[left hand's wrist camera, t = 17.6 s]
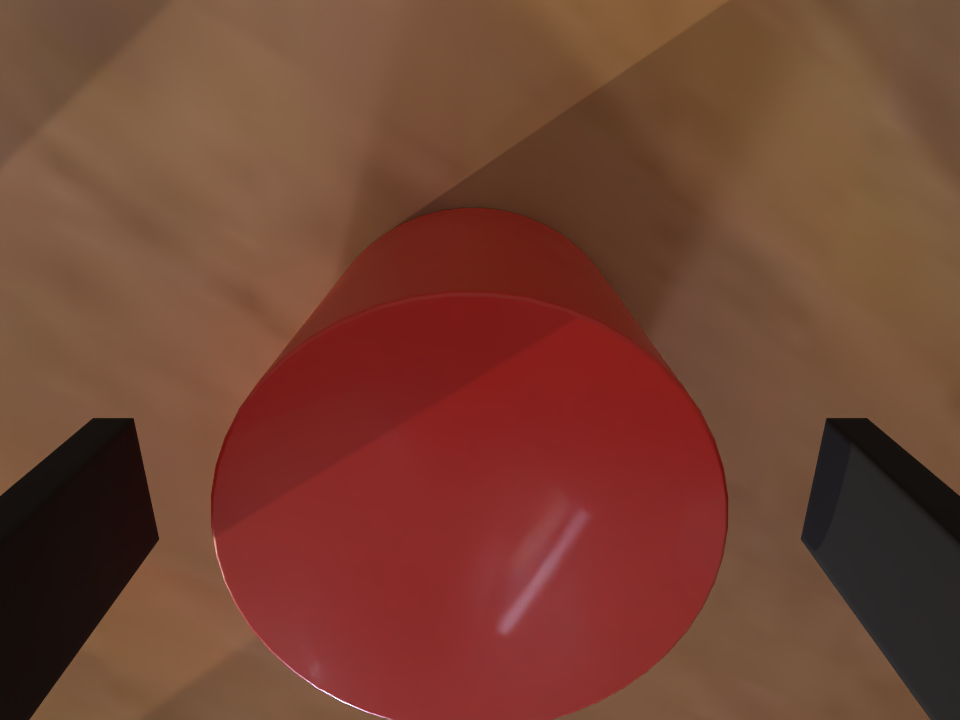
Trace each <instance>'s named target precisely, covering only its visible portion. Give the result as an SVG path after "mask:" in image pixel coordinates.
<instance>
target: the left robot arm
mask: <svg viewBox="0 0 960 720" xmlns="http://www.w3.org/2000/svg"><path fill="white" fill-rule="evenodd" d="M158 540H159V536H158V532H157V527H156V522H155V517H154V513H153V508H152V503H151V498H150V494H149V489H148V484H147V480H146V475H145V470H144V465H143V461H142V456H141V451H140V447H139V442H138V437H137V432H136V428H135V423H134V418H93V419H92V420H90V421H89V422H88V423H87V424H86V425H84V426H83V427H82V428H81V429H80V430H78V431H77V432H76V433H75V434H74V435H73V436H71V437H70V438H69V439H68V440H67V441H65V442H64V443H63V444H62V445H61V446H59V447H58V448H57V449H56V450H55V451H53V452H52V453H51V454H50V455H49V456H48V457H46V458H45V459H44V460H43V461H42V462H40V463H39V464H38V465H37V466H36V467H34V468H33V469H32V470H31V471H30V472H28V473H27V474H26V475H25V476H24V477H23V478H21V479H20V480H19V481H18V482H17V483H15V484H14V485H13V486H12V487H11V488H9V489H8V490H7V491H6V492H5V493H3V494H2V495H1V496H0V720H29V719H30V718H31V717H32V715H33V714H34V712H35V711H36V710H37V708H38V707H39V705H40V704H41V703H42V701H43V700H44V699H45V697H46V696H47V694H48V693H49V692H50V690H51V689H52V687H53V686H54V685H55V683H56V682H57V680H58V679H59V678H60V676H61V675H62V674H63V672H64V671H65V669H66V668H67V667H68V665H69V664H70V662H71V661H72V660H73V658H74V657H75V655H76V654H77V653H78V651H79V650H80V649H81V647H82V646H83V644H84V643H85V642H86V640H87V639H88V637H89V636H90V635H91V633H92V632H93V630H94V629H95V628H96V626H97V625H98V624H99V622H100V621H101V619H102V618H103V617H104V615H105V614H106V612H107V611H108V610H109V608H110V607H111V605H112V604H113V603H114V601H115V600H116V598H117V597H118V596H119V594H120V593H121V592H122V590H123V589H124V587H125V586H126V585H127V583H128V582H129V580H130V579H131V578H132V576H133V575H134V573H135V572H136V571H137V569H138V568H139V567H140V565H141V564H142V562H143V561H144V560H145V558H146V557H147V555H148V554H149V553H150V551H151V550H152V548H153V547H154V546H155V544H156V543H157V542H158ZM801 540H802V542H803V543H804V544H805V546H806V547H807V548H808V550H809V551H810V553H811V554H812V555H813V557H814V558H815V560H816V561H817V562H818V564H819V565H820V567H821V568H822V569H823V571H824V572H825V573H826V575H827V576H828V578H829V579H830V580H831V582H832V583H833V585H834V586H835V587H836V589H837V590H838V592H839V593H840V594H841V596H842V597H843V598H844V600H845V601H846V603H847V604H848V605H849V607H850V608H851V610H852V611H853V612H854V614H855V615H856V617H857V618H858V619H859V621H860V622H861V624H862V625H863V626H864V628H865V629H866V630H867V632H868V633H869V635H870V636H871V637H872V639H873V640H874V642H875V643H876V644H877V646H878V647H879V649H880V650H881V651H882V653H883V654H884V655H885V657H886V658H887V660H888V661H889V662H890V664H891V665H892V667H893V668H894V669H895V671H896V672H897V674H898V675H899V676H900V678H901V679H902V680H903V682H904V683H905V685H906V686H907V687H908V689H909V690H910V692H911V693H912V694H913V696H914V697H915V699H916V700H917V701H918V703H919V704H920V705H921V707H922V708H923V710H924V711H925V712H926V714H927V715H928V717H929V718H930V719H931V720H960V496H959V495H958V494H957V493H955V492H954V491H953V490H952V489H951V488H949V487H948V486H947V485H946V484H945V483H943V482H942V481H941V480H940V479H939V478H937V477H936V476H935V475H934V474H933V473H932V472H930V471H929V470H928V469H927V468H926V467H924V466H923V465H922V464H921V463H920V462H918V461H917V460H916V459H915V458H914V457H912V456H911V455H910V454H909V453H908V452H907V451H905V450H904V449H903V448H902V447H901V446H899V445H898V444H897V443H896V442H895V441H893V440H892V439H891V438H890V437H889V436H887V435H886V434H885V433H884V432H883V431H882V430H880V429H879V428H878V427H877V426H876V425H874V424H873V423H872V422H871V421H870V420H868V419H867V418H826V423H825V428H824V432H823V437H822V442H821V447H820V451H819V456H818V461H817V465H816V470H815V475H814V480H813V484H812V489H811V494H810V498H809V503H808V508H807V513H806V517H805V522H804V527H803V532H802V536H801Z"/></svg>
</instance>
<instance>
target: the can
mask: <svg viewBox="0 0 960 720" xmlns="http://www.w3.org/2000/svg"><path fill="white" fill-rule="evenodd" d="M211 527H212V533H213V539H214V546H215V552H216V556H217V559H218V563H219V566H220V569H221V572H222V575H223V578H224V581H225V583H226V586H227V588H228V590H229V592H230V594H231V596H232V598H233V600H234V602H235V604H236V606H237V608H238V609H239V611H240V612H241V614H242V615H243V617H244V618H245V620H246V621H247V623H248V624H249V626H250V627H251V629H252V630H253V632H254V633H255V634H256V635H257V636H258V637H259V638H260V640H261V641H262V642H263V643H264V644H265V645H266V646H267V648H268V649H269V650H270V651H271V652H272V653H273V654H274V655H275V656H276V657H277V658H279V659H280V660H281V661H282V662H283V663H284V664H285V665H286V666H288V667H289V668H290V669H291V670H292V671H293V672H295V673H296V674H297V675H299V676H300V677H302V678H303V679H305V680H306V681H307V682H309V683H310V684H312V685H313V686H314V687H316V688H318V689H319V690H321V691H323V692H325V693H327V694H328V695H330V696H332V697H334V698H336V699H338V700H339V701H341V702H343V703H346V704H348V705H351V706H353V707H355V708H358V709H360V710H362V711H365V712H367V713H370V714H373V715H376V716H380V717H383V718H386V719H390V720H551V719H554V718H558V717H561V716H564V715H568V714H571V713H573V712H576V711H578V710H581V709H583V708H585V707H588V706H590V705H593V704H595V703H597V702H599V701H601V700H603V699H605V698H607V697H608V696H610V695H612V694H614V693H616V692H618V691H619V690H621V689H623V688H624V687H626V686H627V685H629V684H630V683H632V682H633V681H634V680H636V679H637V678H639V677H640V676H642V675H643V674H644V673H646V672H647V671H648V670H649V669H650V668H652V667H653V666H654V665H655V664H656V663H657V662H658V661H659V660H661V659H662V658H663V657H664V656H665V655H666V654H667V653H668V652H669V651H670V650H671V649H672V648H673V647H674V645H675V644H676V643H677V642H678V641H679V640H680V639H681V637H682V636H683V635H684V634H685V633H686V632H687V630H688V629H689V627H690V626H691V624H692V623H693V621H694V620H695V618H696V617H697V615H698V614H699V612H700V611H701V609H702V608H703V606H704V604H705V601H706V599H707V597H708V595H709V593H710V591H711V589H712V587H713V585H714V583H715V580H716V577H717V574H718V571H719V567H720V564H721V561H722V558H723V554H724V548H725V542H726V535H727V529H728V493H727V486H726V480H725V473H724V467H723V464H722V461H721V458H720V455H719V451H718V448H717V445H716V442H715V439H714V437H713V435H712V433H711V431H710V429H709V427H708V425H707V423H706V421H705V419H704V417H703V415H702V413H701V411H700V409H699V408H698V407H697V405H696V404H695V402H694V401H693V400H692V398H691V397H690V395H689V394H688V392H687V391H686V390H685V388H684V387H683V385H682V384H681V383H680V381H679V380H678V378H677V377H676V376H675V374H674V373H673V372H672V370H671V369H670V367H669V366H668V365H667V363H666V362H665V361H664V359H663V358H662V356H661V355H660V354H659V352H658V351H657V350H656V348H655V347H654V346H653V344H652V343H651V341H650V340H649V339H648V337H647V336H646V335H645V333H644V332H643V330H642V329H641V328H640V326H639V325H638V324H637V322H636V321H635V319H634V318H633V317H632V315H631V314H630V313H629V311H628V310H627V308H626V307H625V306H624V304H623V303H622V302H621V300H620V299H619V298H618V296H617V295H616V293H615V292H614V291H613V289H612V288H611V287H610V285H609V284H608V282H607V281H606V280H605V278H604V277H603V276H602V274H601V273H600V271H599V270H598V269H597V267H596V266H595V265H594V263H593V262H592V261H591V260H590V259H589V258H588V257H587V256H586V255H585V254H584V253H583V252H582V251H581V249H579V248H578V247H577V246H576V245H574V244H573V243H572V242H571V241H570V240H568V239H567V238H566V237H565V236H563V235H561V234H560V233H558V232H556V231H555V230H553V229H551V228H550V227H548V226H547V225H544V224H542V223H540V222H537V221H535V220H533V219H531V218H528V217H525V216H522V215H518V214H515V213H511V212H508V211H502V210H495V209H488V208H458V209H450V210H442V211H438V212H434V213H431V214H427V215H423V216H420V217H417V218H415V219H413V220H410V221H408V222H405V223H403V224H401V225H399V226H397V227H396V228H394V229H392V230H391V231H389V232H387V233H385V234H384V235H382V236H381V237H380V238H379V239H377V240H376V241H375V242H373V243H372V244H371V245H370V246H368V247H367V248H366V249H365V250H364V251H363V252H362V253H361V254H360V255H359V256H358V258H357V259H356V260H355V261H354V262H353V263H352V264H351V265H350V267H349V268H348V269H347V270H346V272H345V273H344V274H343V276H342V277H341V278H340V279H339V281H338V282H337V283H336V284H335V286H334V287H333V288H332V289H331V291H330V292H329V293H328V295H327V296H326V297H325V298H324V300H323V301H322V302H321V303H320V305H319V306H318V307H317V308H316V310H315V311H314V312H313V313H312V315H311V316H310V317H309V319H308V320H307V321H306V322H305V324H304V325H303V326H302V327H301V329H300V330H299V331H298V332H297V334H296V335H295V336H294V338H293V339H292V340H291V341H290V343H289V344H288V345H287V346H286V348H285V349H284V350H283V351H282V353H281V354H280V355H279V357H278V358H277V359H276V360H275V362H274V363H273V364H272V365H271V367H270V368H269V369H268V370H267V372H266V373H265V374H264V376H263V377H262V378H261V379H260V381H259V382H258V383H257V385H256V386H255V387H254V389H253V390H252V392H251V393H250V394H249V396H248V397H247V399H246V400H245V401H244V403H243V404H242V406H241V407H240V408H239V410H238V412H237V414H236V416H235V418H234V420H233V422H232V424H231V426H230V428H229V430H228V432H227V434H226V436H225V438H224V441H223V445H222V448H221V451H220V454H219V457H218V460H217V463H216V467H215V473H214V480H213V486H212V492H211Z"/></svg>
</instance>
